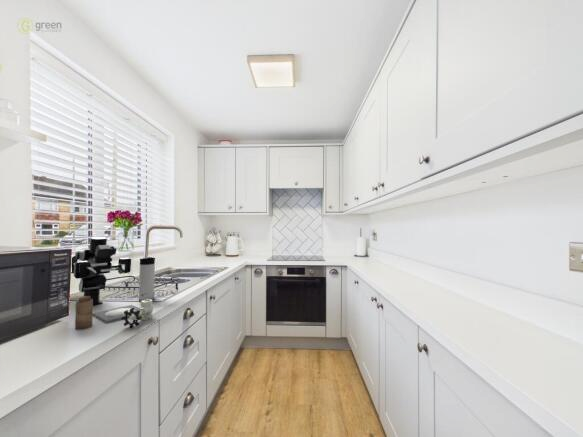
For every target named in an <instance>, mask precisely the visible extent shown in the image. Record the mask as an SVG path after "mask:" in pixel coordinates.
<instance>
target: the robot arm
mask: <svg viewBox="0 0 583 437" xmlns="http://www.w3.org/2000/svg"><path fill="white" fill-rule="evenodd" d="M89 241H90V242H89V248H87V249H84V250H81V251H80V250H79V251H76V252H75V255H73V256H72V257H71V258H72V272H71V273H70V274H73V277H74V278H75V279H77V280H78V279H79V280H80V281H79V284H78V292H80V293H83V297H84V296H90V299H93V306H95V305H101V304H103V303H104V302H103V301H101V299H100V297H101V296H100V293H101V290H105V289H106V283H107V280H108V279H107V276H106V275H104V274H111V272H113V271H117V273H118V274H119V275H123V274H129V273H130V272H131V269H132V268H131V267H132V259H131V258H130V257H119V258H118V263H115V264H112V261H113V258H112V257H113V256H115V255H116V254H117V247H116V246H113V245H109V244H108V243H107V242H108V237H101V236H94V237H90V238H89Z"/></svg>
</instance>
